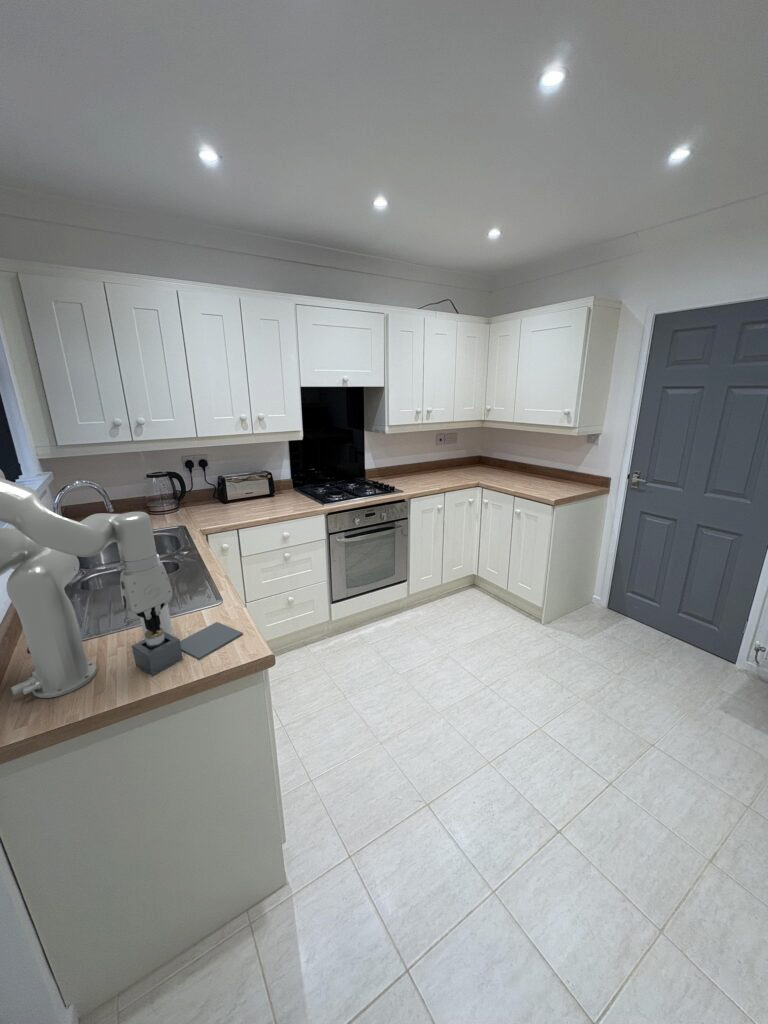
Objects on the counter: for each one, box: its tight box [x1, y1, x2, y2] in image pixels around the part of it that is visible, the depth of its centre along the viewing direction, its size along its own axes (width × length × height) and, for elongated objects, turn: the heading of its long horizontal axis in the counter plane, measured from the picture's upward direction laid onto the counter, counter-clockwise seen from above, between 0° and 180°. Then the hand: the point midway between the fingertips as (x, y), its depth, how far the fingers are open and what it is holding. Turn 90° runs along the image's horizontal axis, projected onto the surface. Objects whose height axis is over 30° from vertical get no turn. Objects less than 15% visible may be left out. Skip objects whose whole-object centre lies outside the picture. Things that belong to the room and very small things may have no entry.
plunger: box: [143, 628, 166, 650], centre depth 103 cm, size 4×4×6 cm
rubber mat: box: [180, 621, 244, 661], centre depth 114 cm, size 14×12×1 cm
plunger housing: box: [131, 631, 184, 677], centre depth 104 cm, size 8×8×6 cm
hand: (154, 629), depth 102 cm, fingers closed
